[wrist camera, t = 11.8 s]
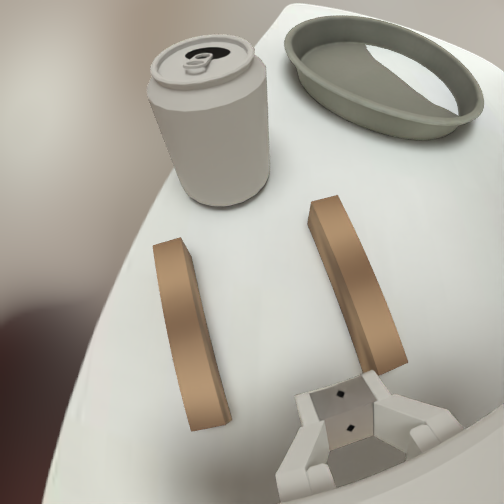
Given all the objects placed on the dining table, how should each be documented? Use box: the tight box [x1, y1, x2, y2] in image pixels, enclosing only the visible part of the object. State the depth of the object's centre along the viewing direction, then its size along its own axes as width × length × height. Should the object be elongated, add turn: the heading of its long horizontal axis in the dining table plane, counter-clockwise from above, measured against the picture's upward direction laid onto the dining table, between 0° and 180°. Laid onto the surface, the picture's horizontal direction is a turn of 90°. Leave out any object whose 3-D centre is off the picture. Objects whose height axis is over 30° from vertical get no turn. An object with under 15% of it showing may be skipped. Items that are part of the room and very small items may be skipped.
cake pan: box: [284, 16, 484, 140], centre depth 30 cm, size 25×25×4 cm
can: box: [147, 34, 270, 206], centre depth 21 cm, size 8×8×12 cm
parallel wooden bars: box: [153, 195, 408, 431], centre depth 19 cm, size 12×13×3 cm
